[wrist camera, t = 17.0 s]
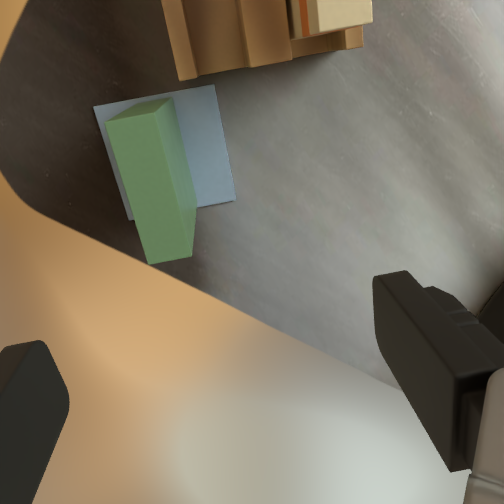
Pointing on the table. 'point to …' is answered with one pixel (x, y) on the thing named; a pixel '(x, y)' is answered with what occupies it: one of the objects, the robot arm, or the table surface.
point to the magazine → (494, 314)
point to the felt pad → (187, 142)
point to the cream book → (325, 16)
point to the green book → (155, 177)
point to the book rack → (240, 35)
